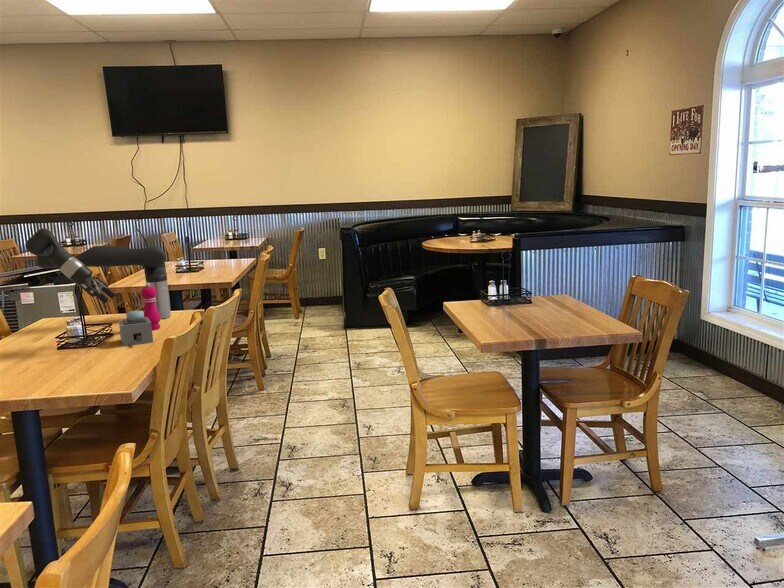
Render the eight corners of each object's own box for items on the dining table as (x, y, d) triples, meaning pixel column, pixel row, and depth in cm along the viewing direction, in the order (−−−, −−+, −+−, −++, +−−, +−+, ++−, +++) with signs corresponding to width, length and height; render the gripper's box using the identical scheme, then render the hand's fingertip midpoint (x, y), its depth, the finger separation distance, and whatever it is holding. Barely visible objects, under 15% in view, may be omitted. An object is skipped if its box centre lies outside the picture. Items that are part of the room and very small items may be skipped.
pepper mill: (164, 326, 273) (159, 281, 270) (156, 331, 266) (151, 284, 262) (148, 326, 274) (143, 281, 270) (140, 331, 267) (135, 284, 263)
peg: (130, 338, 254) (127, 311, 251) (147, 337, 255) (144, 310, 253) (127, 342, 248) (124, 314, 245) (145, 341, 249) (142, 313, 247)
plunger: (134, 337, 249) (133, 332, 248) (139, 336, 249) (138, 331, 249) (136, 342, 241) (135, 337, 241) (141, 341, 242) (141, 336, 242)
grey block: (120, 339, 253) (118, 319, 252) (149, 336, 258) (147, 315, 256) (123, 346, 244) (120, 324, 242) (153, 342, 249) (150, 320, 247)
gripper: (76, 275, 249) (109, 302, 253) (62, 281, 235) (98, 310, 239) (89, 261, 249) (122, 288, 252) (75, 266, 235) (111, 295, 239)
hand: (110, 299), depth 246 cm, fingers open, 8 cm apart
